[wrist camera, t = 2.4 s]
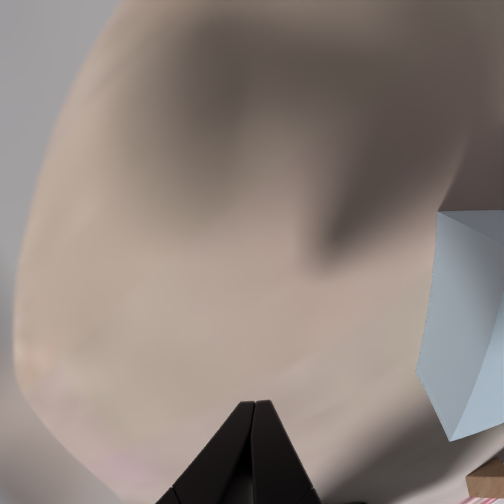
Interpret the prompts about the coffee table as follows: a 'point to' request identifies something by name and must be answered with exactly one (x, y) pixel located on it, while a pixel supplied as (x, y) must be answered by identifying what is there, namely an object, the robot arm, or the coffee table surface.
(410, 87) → the coffee table surface
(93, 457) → the coffee table surface
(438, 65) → the coffee table surface
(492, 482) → the wooden block set
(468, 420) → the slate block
